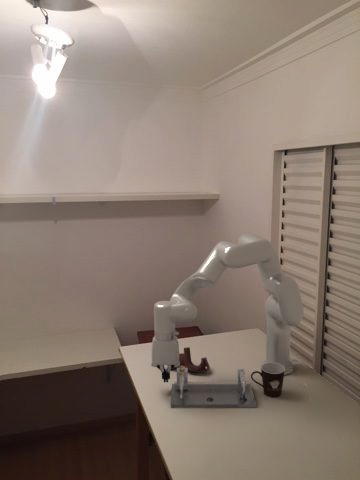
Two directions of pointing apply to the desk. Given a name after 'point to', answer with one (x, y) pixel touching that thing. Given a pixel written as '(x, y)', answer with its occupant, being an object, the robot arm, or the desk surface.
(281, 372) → the coffee mug
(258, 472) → the desk surface
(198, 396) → the bolt plate and beam
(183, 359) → the bracket
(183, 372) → the sliding leg
